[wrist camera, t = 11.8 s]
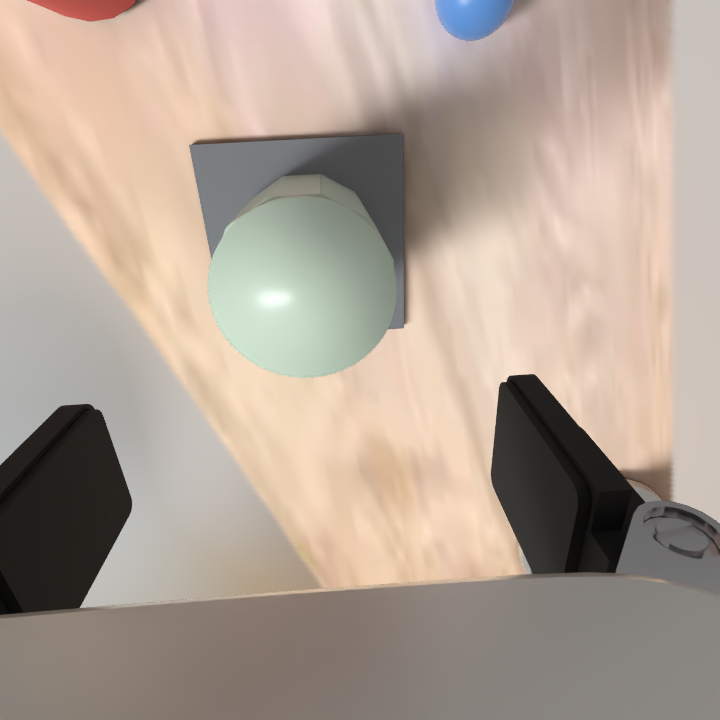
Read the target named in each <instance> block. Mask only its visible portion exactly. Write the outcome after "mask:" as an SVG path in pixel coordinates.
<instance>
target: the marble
mask: <svg viewBox="0 0 720 720" xmlns="http://www.w3.org/2000/svg"><path fill="white" fill-rule="evenodd" d="M435 3H436V10H437V14H438V17H439V19H440V21H441V23H442V25H443V26H444V28H445V29H446V30H447V31H448V32H449V33H450V34H451V35H453V36H455V37H456V38H459V39H462V40H466V41H473V40H478V39H482V38H484V37H486V36H488V35H490V34H491V33H493V32H494V31H495V30H496V29H498V28H499V27H500V26H501V25H502V23H503V22H504V21H505V19H506V18H507V16H508V14H509V13H510V10H511V8H512V6H513V3H514V0H435Z"/></svg>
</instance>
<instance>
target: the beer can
mask: <svg viewBox="0 0 720 720" xmlns="http://www.w3.org/2000/svg"><path fill="white" fill-rule="evenodd" d="M28 1H30V2H33V3H35V4H37V5H40V6H42V7H45V8H47V9H50V10H52V11H54V12H57V13H59V14H62V15H64V16H67V17H71V18H76V19H81V20H86V21H90V22H91V21H98V20H104V19H110V18H114V17H116V16H117V15H119V14H120V13H122V12H124V11H125V10H127V9H128V8H130V7H131V6H133V4H134V3H135V1H136V0H28Z"/></svg>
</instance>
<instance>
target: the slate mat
mask: <svg viewBox="0 0 720 720" xmlns="http://www.w3.org/2000/svg"><path fill="white" fill-rule="evenodd" d="M189 147H190V152H191V157H192V162H193V167H194V172H195V177H196V182H197V188H198V193H199V198H200V203H201V208H202V213H203V218H204V223H205V228H206V234H207V239H208V244H209V249H210V254H211V259H212V257H213V254H214V252H215V250H216V248H217V246H218V244H219V242H220V241H221V239H222V236H223V234H224V231H225V229H226V227H227V225H228V224H229V223H230V222H231V221H232V220H233V219H234V218H235V217H236V216H237V214H238V213H239V212H240V211H241V210H242V209H243V208H244V207H245V206H246V205H247V203H248V202H249V201H250V200H251V199H252V198H253V197H255V196H256V195H257V194H259V193H260V192H261V191H263V190H264V189H266V188H267V187H268V186H270V185H271V184H272V183H274V182H275V181H277V180H278V179H279V178H281V177H282V176H291V175H308V174H322V175H324V176H326V177H328V178H330V179H332V180H334V181H336V182H337V183H339V184H341V185H343V186H345V187H347V188H349V189H351V190H352V191H354V192H355V193H356V194H357V196H358V197H359V199H360V201H361V202H362V204H363V206H364V207H365V209H366V210H367V212H368V214H369V215H370V217H371V219H372V220H373V222H374V223H375V225H376V227H377V229H378V231H379V233H380V235H381V237H382V239H383V240H384V242H385V244H386V246H387V248H388V250H389V252H390V254H391V256H392V258H393V260H394V272H395V276H396V285H397V296H396V305H395V310H394V314H393V317H392V320H391V323H390V325H389V327H388V329H398V328H404V152H403V134H386V135H367V136H348V137H329V138H310V139H291V140H272V141H253V142H234V143H215V144H196V145H189ZM227 341H228V340H227Z"/></svg>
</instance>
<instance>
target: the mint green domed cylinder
mask: <svg viewBox="0 0 720 720" xmlns="http://www.w3.org/2000/svg"><path fill="white" fill-rule="evenodd" d="M208 295H209V303H210V306H211V310H212V313H213V316H214V318H215V321H216V323H217V325H218V327H219V329H220V330H221V332H222V334H223V335H224V337H225V338H226V339H227V340H228V342H229V343H230V344H231V345H232V346H233V347H234V348H235V349H236V350H237V351H238V352H239V353H240V354H241V355H242V356H244V357H245V358H246V359H248V360H249V361H251V362H252V363H254V364H256V365H257V366H259V367H261V368H263V369H266V370H268V371H271V372H274V373H277V374H280V375H285V376H290V377H300V378H311V377H320V376H326V375H330V374H334V373H337V372H339V371H342V370H344V369H346V368H348V367H350V366H352V365H354V364H356V363H357V362H359V361H360V360H361V359H363V358H364V357H365V356H367V355H368V354H369V353H370V352H371V351H372V350H373V349H374V348H375V347H376V345H377V344H378V343H379V342H380V340H381V339H382V337H383V336H384V334H385V333H386V331H387V329H388V327H389V325H390V323H391V320H392V317H393V314H394V310H395V305H396V296H397V285H396V276H395V272H394V260H393V258H392V256H391V254H390V252H389V250H388V248H387V246H386V244H385V242H384V240H383V239H382V237H381V235H380V233H379V231H378V229H377V227H376V225H375V223H374V222H373V220H372V219H371V217H370V215H369V214H368V212H367V210H366V209H365V207H364V206H363V204H362V202H361V201H360V199H359V197H358V196H357V194H356V193H355V192H354V191H352V190H351V189H349V188H347V187H345V186H343V185H341V184H339V183H337V182H336V181H334V180H332V179H330V178H328V177H326V176H324V175H322V174H308V175H291V176H282V177H281V178H279V179H278V180H277V181H275V182H274V183H272V184H271V185H270V186H268V187H267V188H266V189H264V190H263V191H261V192H260V193H259V194H257V195H256V196H255V197H253V198H252V199H251V200H250V201H249V202H248V203H247V205H246V206H245V207H244V208H243V209H242V210H241V211H240V212H239V213H238V214H237V216H236V217H235V218H234V219H233V220H232V221H231V222H230V223H229V224H228V225H227V227H226V229H225V231H224V234H223V236H222V239H221V241H220V242H219V244H218V246H217V248H216V250H215V252H214V254H213V257H212V261H211V264H210V268H209V275H208Z"/></svg>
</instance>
